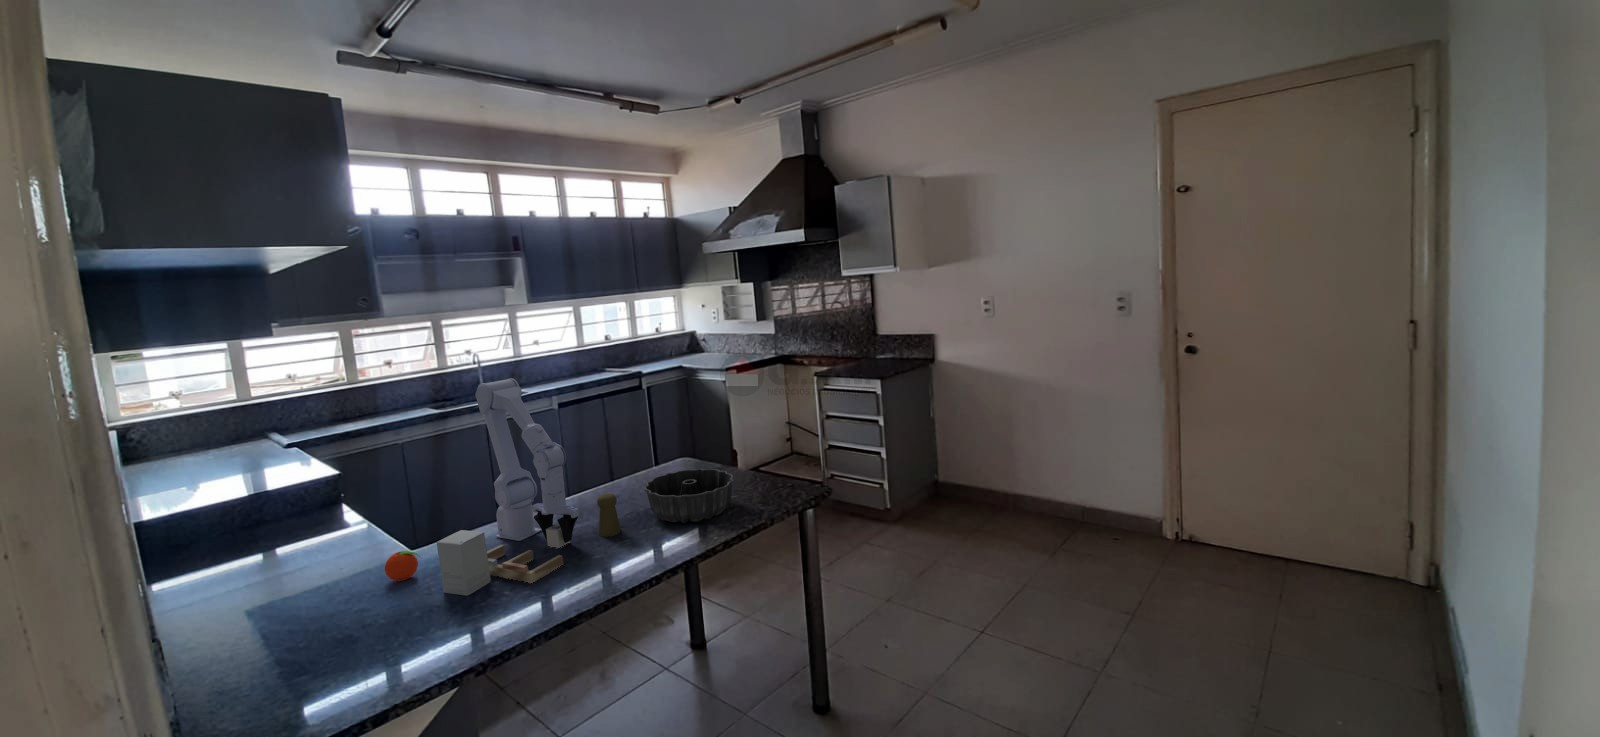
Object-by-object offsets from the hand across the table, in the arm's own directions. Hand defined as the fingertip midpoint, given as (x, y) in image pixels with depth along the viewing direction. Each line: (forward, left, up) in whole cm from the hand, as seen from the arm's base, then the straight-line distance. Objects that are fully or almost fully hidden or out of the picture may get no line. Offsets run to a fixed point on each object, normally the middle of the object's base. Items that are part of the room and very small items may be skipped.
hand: (558, 539), depth 174 cm
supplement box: (-3, -26, -2) cm, 26 cm away
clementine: (-22, -28, -2) cm, 36 cm away
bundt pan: (+22, +31, -2) cm, 38 cm away
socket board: (0, -14, -1) cm, 14 cm away
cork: (+8, +11, -2) cm, 14 cm away
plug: (0, 0, -2) cm, 2 cm away
